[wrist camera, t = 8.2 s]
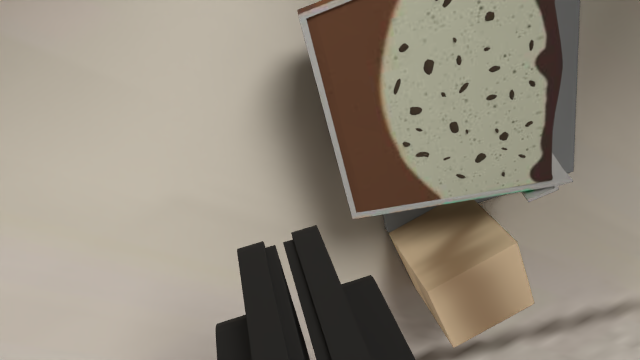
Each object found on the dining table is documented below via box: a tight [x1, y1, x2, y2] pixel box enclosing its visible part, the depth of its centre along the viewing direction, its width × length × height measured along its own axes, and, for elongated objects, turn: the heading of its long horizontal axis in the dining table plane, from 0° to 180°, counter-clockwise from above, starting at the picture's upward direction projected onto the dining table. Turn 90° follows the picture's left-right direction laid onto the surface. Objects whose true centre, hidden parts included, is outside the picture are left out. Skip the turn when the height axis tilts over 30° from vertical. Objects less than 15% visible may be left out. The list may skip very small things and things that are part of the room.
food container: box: [297, 0, 573, 219], centre depth 22 cm, size 12×6×10 cm
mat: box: [383, 0, 580, 232], centre depth 25 cm, size 12×18×1 cm, turn 12°
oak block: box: [389, 199, 534, 348], centre depth 28 cm, size 5×5×5 cm
